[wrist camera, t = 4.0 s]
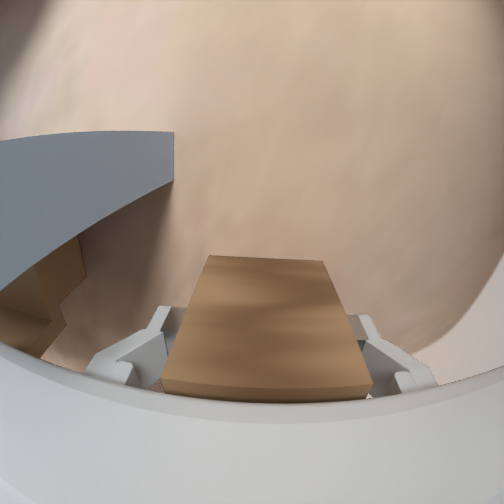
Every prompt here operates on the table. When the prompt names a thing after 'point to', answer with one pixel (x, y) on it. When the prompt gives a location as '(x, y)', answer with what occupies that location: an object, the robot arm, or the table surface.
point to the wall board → (63, 217)
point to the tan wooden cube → (266, 336)
